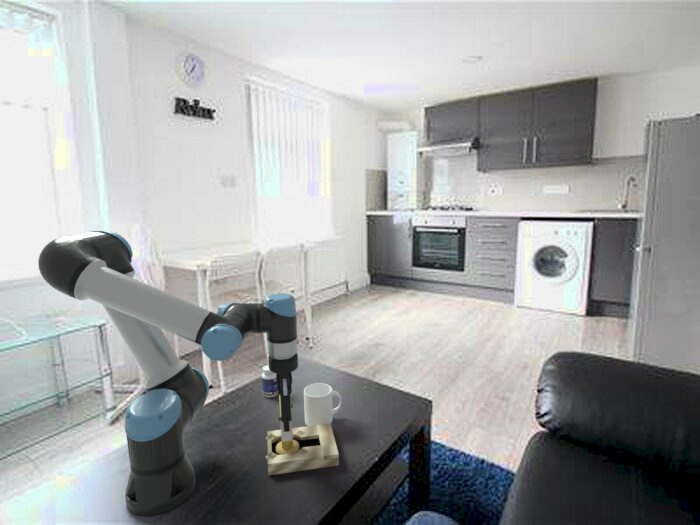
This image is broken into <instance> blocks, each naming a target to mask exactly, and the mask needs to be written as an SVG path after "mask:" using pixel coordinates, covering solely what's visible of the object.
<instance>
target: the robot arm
mask: <svg viewBox="0 0 700 525" xmlns="http://www.w3.org/2000/svg"><path fill="white" fill-rule="evenodd" d="M37 261H38V262H37V263H38V265H37V266H38V269H39V273H40V274H41V277H42V278H43V280H44V281H45V282H46V283H47V284H48V285H50V287H52V288H54V290H56V291H58V292H60V293H61V294H64V295H66V296H68V297H71V298H72V299H76V300H78V301H86V300H91V301H93V302H95V303H97V304H101V305H102V306H103V308H104V309H105V312H107V315H108V316H109V318H110V319H111V321H112V323H113V325H114V326H115V328H116V329H117V331H118V333H119V334H120V336H121V338H122V339H123V340H124V343H125V344H126V346H127V347H128V349H129V351H130V353H131V354H132V356H133V358H134V359H135V361H136V362H137V364H138V366H139V367H140V369H141V371H142V372H143V374H144V376H145V377H146V379H145V383H144V389H145V390H146V393H145V394H140V395H139V396H137V397H136V398H135V399H133V401H131V402H130V403H129V405H128V406H127V408H126V410H125V413H124V431H125V436H126V441H127V447H128V448H127V449H128V450H127V451H128V456H129V458H128V459H129V464H130V472H129V475H128V479H127V483H126V486H125V488H126V489H125V492H124V493H125V495H124V497H125V505H126V507H127V508H126V509H128V511H130V512H131V513H132V514H135V515H138V516H143V517H144V516H146V515H147V516H148V515H149V516H155V514H156V515H160V514H163V513H165V512H168V511H171V510H173V509H175V508H177V507H179V506H180V505H181V504H182V503H183V502H185V501H186V500H187V499H188V498H189V497H190V496H191V495H192V493H193V491H194V490H195V488H196V483H197V482H196V480H197V479H196V472H195V470H194V468H193V466H192V464H191V461H190V460H189V459H188V456H187V455H186V448H185V438H184V437H185V431H186V430H187V428H188V427H189V425H190V424H191V422H192V421H193V420H194V419H195V417H196V416H197V414H198V413H199V412H200V410H202V408H203V407H204V406H205V404H206V401H207V398H208V396H209V392H210V384H209V381H208V377H207V376H206V374H205V373H204V372H203V371H202V370H200V369H198V368H196V367H194V366H191V364H189V361H188V360H183V359H180V358H179V357H178V355H177V353H176V352H175V351H174V348H173V347H172V345H171V343H170V342H169V340H168V338H167V336H166V335H165V332H166V331H167V332H168V333H170V334H174V335H176V336H179V337H180V338H183V339H185V340H188V341H189V342H192V343H195V344H197V345H199V346H200V347H201V351H202V352H203V354H204V355H205V356H206V357H207V358H208V359H210V360H212V361H217V362H219V361H220V362H222V361H225V360H228V359H230V358H231V357H233V355H234V354H235V353H237V352H238V350H239V349H240V348H241V346H242V344H243V342H244V341H245V340H246V339H247V337H248V336H249V334H264V333H265V334H266V336H267V338H266V343H267V354H268V357H267V359H268V360H267V361H268V365H269V370H270V371H271V372H273V373H276V379H277V385H278V396H279V395H280V399H281V417H280V416H279V417H278V418H277V420H278V421H279V422H280V430H281V433H282V442H284V441H292V428H293V419H292V418H293V417H291V411H292V408H294V407H293V403H292V397H291V398H290V394H292V392H293V391H292V388H293V387H292V384H293V376H292V372H295V371H296V370H297V369H298V368H299V355H298V345H299V344H300V340H298V335H297V334H298V331H297V328H298V327H297V326H298V325H297V323H298V322H297V319H298V318H297V313H298V312H297V309H296V299H295V297H294V296H293V295H291V294H289V293H273V294H269V295H268V296H267V295H266V297H265V301H264V302H261V303H260V302H259V303H256V302H255V303H254V302H251V303H250V302H249V303H247V302H239V303H238V302H231V303H230V302H229V303H222V304H220V305H219V307H218V308H217V311H216V312H213V311H211V310H208V309H207V308H203V307H201V306H199V305H196V304H195V303H193V302H190V301H188V300H186V299H185V300H184V299H183V298H181V297H177V296H176V295H173V294H172V293H171V294H170V293H168V292H167V291H164V290H162V289H159V288H157V287H155V286H152V285H149V284H147V283H145V282H143V281H141V280H138V279H136V278H134V277H135V274H136V270H135V268H134V267H133V265H132V262H133V249H132V247H131V245H130V243H129V242H128V240H127V239H125V237H124V236H122V235H120V234H119V233H117V232H114V231H110V230H90V231H88V232H84V233H78V234H73V235H66V236H65V235H64V236H61V237H58V238H55V239H53V240H51V241H49V242H48V243H47V244H46V245H45V246H44V247H43V249H42V250H41V252H40V253H39V256H38V260H37ZM164 331H165V332H164ZM291 420H292V421H291ZM149 516H148V517H149Z"/></svg>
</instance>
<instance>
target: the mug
mask: <svg viewBox="0 0 700 525" xmlns="http://www.w3.org/2000/svg"><path fill="white" fill-rule="evenodd" d="M333 397H338V398H339V404H338V406H337V407H335V408H333ZM341 404H342V396H341V394H340V392H338V391H337V390H333V388H332V386H330V385H329V384H327V383H322V382H317V383H311V384H308V385H307V386H305V387H304V388H303V405H304V406H303V407H304V408H303V409H304V413H303V414H304V423H305V426H314V425H322V424H331V425H332V423H333V415H334V414H336V413H338V412H339V410H340V408H341Z"/></svg>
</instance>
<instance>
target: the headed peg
mask: <svg viewBox="0 0 700 525" xmlns="http://www.w3.org/2000/svg"><path fill="white" fill-rule="evenodd" d="M291 394H292V393H291ZM291 394H290V398H291V399H292V395H291ZM278 399H279V414H280V415H279V417H281V399H280V395H279V394H278ZM292 416H293V415H292V410H291V417H292ZM292 418H293V417H292ZM291 421H292V422H293V419H292V420H291ZM299 450H300V443H299V442H298V441H297V440H293V433H292V441H284V442H282V433H281V442H277V444H276V445H275V454H277V455H282V454H289V453H296V452H298V451H299Z"/></svg>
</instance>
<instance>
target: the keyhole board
mask: <svg viewBox="0 0 700 525" xmlns="http://www.w3.org/2000/svg"><path fill="white" fill-rule="evenodd" d="M332 427H333V426H332V423H331V424H322V425H314V426H307V425H305V426H299V427H292V433H293V440H295V441H297V440H298V441H299V440H300V441H306V440H307V441H308V440H315V439H318V441H319V444H320V445H313V446H312V445H311V446H303V447H301V448H299V451H298V452H296V453H289V454H282V455H277V453H276V452H275V453H274V452H273V444H275V443H279V442H281V429H274V430H268V431H267V436H266V437H265V442H267V455H265V461H266V462H267V471H268V472H267V474H268V475H267V476H273V475H280V474H288V473H295V472H300V471H308V470H315V469H323V468H330V467H335V466H339V465H340V455H339V449H338V446H337V443H336V439H335V435H334V432H333V428H332Z"/></svg>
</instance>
